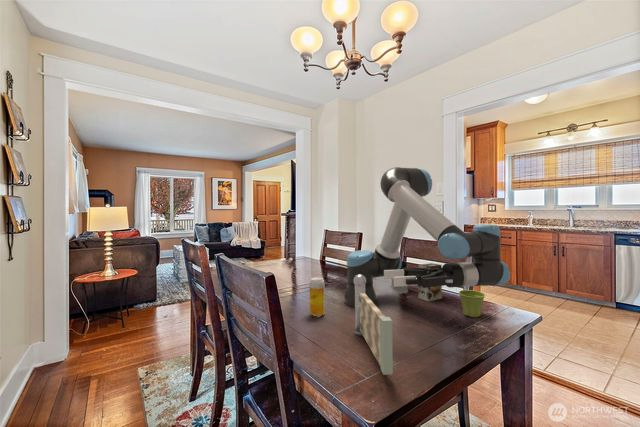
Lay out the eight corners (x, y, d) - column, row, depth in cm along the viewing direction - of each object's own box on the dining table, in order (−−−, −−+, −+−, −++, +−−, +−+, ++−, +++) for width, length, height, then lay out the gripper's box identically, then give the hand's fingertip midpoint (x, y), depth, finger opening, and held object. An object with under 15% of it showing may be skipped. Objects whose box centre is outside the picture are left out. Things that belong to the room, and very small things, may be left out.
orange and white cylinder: (309, 312, 120) (309, 277, 120) (324, 311, 121) (323, 276, 121) (310, 318, 114) (309, 280, 114) (325, 317, 115) (324, 280, 114)
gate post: (352, 330, 102) (351, 273, 102) (365, 329, 102) (364, 272, 102) (355, 336, 97) (354, 276, 97) (368, 335, 98) (368, 275, 97)
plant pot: (489, 319, 109) (489, 297, 109) (462, 318, 111) (462, 296, 111) (480, 311, 118) (480, 290, 118) (456, 309, 120) (456, 289, 120)
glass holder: (398, 294, 143) (397, 264, 142) (381, 287, 156) (381, 260, 155) (412, 292, 146) (411, 263, 146) (394, 285, 159) (394, 258, 159)
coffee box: (428, 301, 131) (428, 266, 130) (418, 298, 137) (417, 264, 136) (442, 298, 135) (442, 264, 135) (431, 295, 141) (431, 262, 140)
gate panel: (358, 329, 98) (357, 290, 98) (365, 329, 98) (364, 290, 98) (383, 374, 71) (382, 320, 71) (392, 374, 72) (392, 320, 71)
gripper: (480, 296, 80) (402, 301, 78) (441, 278, 101) (378, 281, 99) (480, 270, 80) (402, 273, 78) (440, 257, 101) (378, 259, 99)
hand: (389, 277), depth 88 cm, fingers open, 8 cm apart
